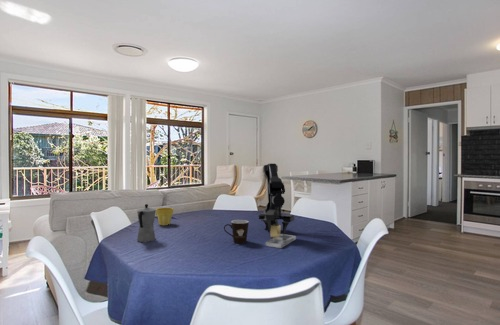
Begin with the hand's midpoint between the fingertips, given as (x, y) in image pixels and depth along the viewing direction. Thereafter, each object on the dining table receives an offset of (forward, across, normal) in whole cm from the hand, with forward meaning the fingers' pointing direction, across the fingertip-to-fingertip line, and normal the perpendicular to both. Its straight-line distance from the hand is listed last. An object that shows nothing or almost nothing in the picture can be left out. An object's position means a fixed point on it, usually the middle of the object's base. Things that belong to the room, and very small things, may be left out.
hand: (276, 233), depth 156 cm
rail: (+2, +7, -9) cm, 12 cm away
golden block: (+2, 0, 0) cm, 2 cm away
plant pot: (0, -72, -11) cm, 73 cm away
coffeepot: (+1, -52, -42) cm, 67 cm away
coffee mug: (+2, -12, -19) cm, 23 cm away
